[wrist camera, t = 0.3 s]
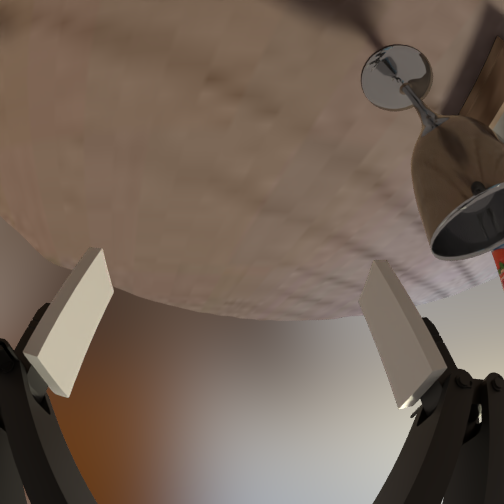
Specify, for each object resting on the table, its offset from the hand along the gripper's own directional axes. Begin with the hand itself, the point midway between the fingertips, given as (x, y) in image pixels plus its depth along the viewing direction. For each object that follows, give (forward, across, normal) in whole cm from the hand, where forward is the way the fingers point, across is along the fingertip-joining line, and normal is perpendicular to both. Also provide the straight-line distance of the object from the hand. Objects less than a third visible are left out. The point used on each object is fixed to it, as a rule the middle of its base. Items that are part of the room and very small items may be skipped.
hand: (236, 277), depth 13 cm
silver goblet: (+13, +13, +11) cm, 21 cm away
